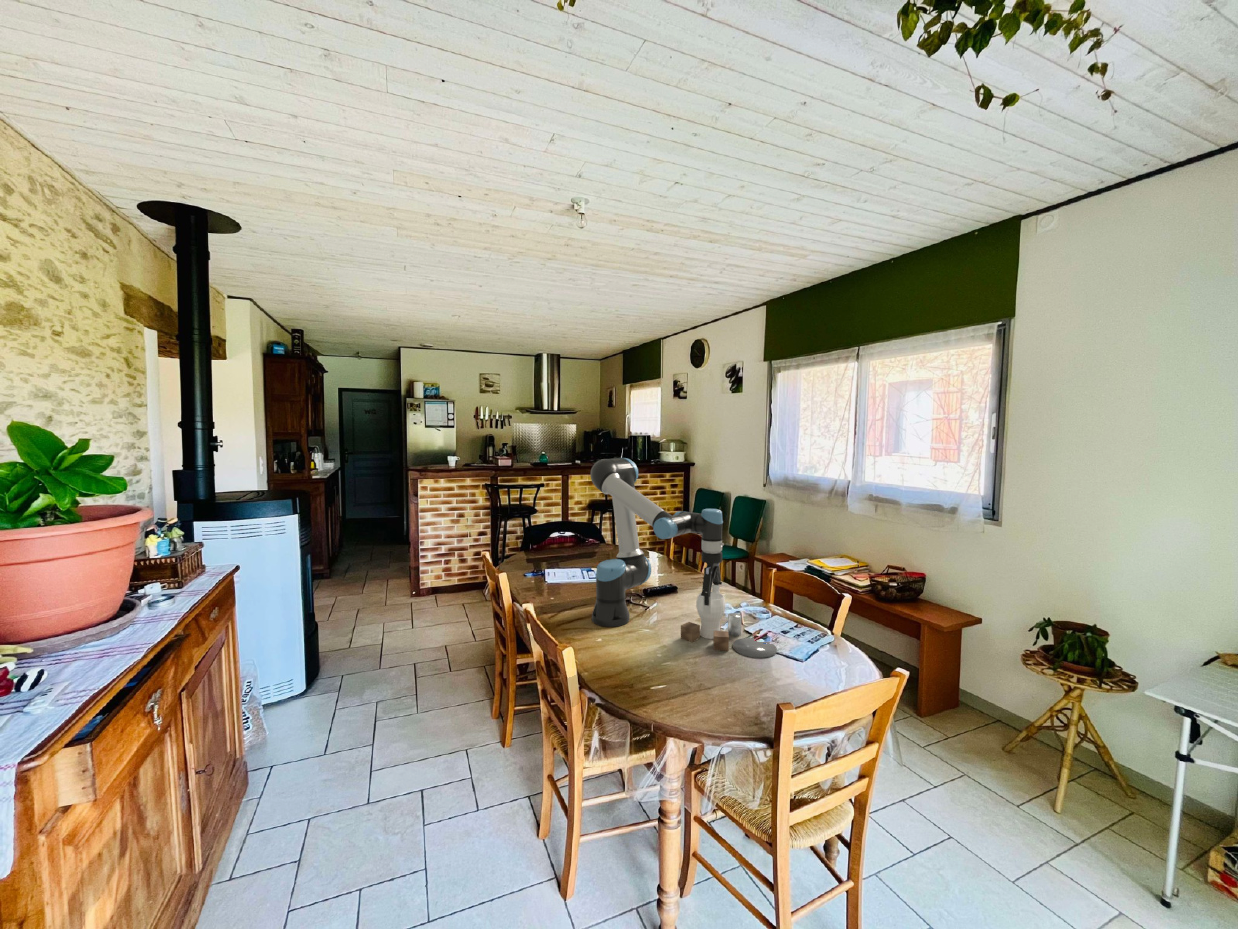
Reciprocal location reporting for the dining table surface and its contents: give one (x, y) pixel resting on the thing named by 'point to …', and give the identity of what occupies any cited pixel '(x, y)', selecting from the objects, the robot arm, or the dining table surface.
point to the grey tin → (734, 624)
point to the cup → (711, 620)
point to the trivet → (754, 648)
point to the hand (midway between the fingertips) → (711, 607)
